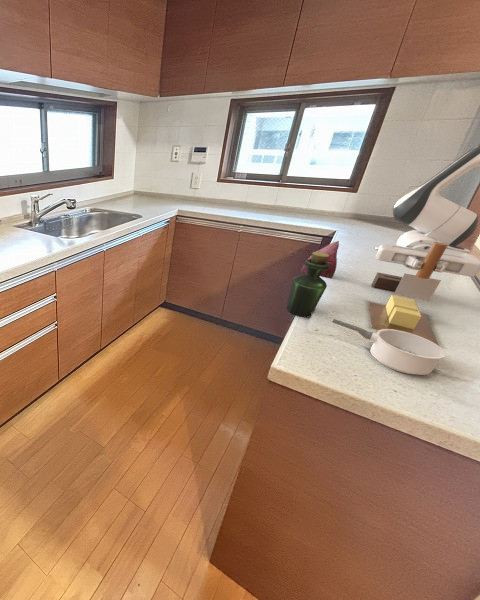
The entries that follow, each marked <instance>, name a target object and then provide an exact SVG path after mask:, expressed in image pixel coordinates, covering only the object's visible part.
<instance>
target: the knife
mask: <svg viewBox="0 0 480 600" xmlns="http://www.w3.org/2000/svg"><path fill="white" fill-rule="evenodd" d="M447 246H448V244H445V243H440V242H434V243H433V245H432V246H431V248H430V250H429V252H428V254H427V256H426V257H425V259H424V261H423V262H424V263H423V265H422V267H421V269H419V270H417V272H416V274H415V275H414V274H409V273H403V275H402V276H401V277H402V279H401V281H400V283H399V285H398V287H397V289H396V291H395V292H393V295H396V296H400V297H405V298H410V299H414V300H415V299H416V300H420V301H425V302H430V301H431V298H432V297H433V296H434V294H435V292H436V290H437V289H438V286H439V285H440V283H441V281H442V280H441V279H437V278H436V279H435V278H432V277H431V276H432V274H433V273H434V272H435V271H434V269H435V267H436V266H437V264H438V262H439V260H440V259H441V257H442V255H443V253H444V252H445V250H446V248H447Z"/></svg>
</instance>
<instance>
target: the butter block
mask: <svg viewBox="0 0 480 600" xmlns="http://www.w3.org/2000/svg"><path fill="white" fill-rule="evenodd" d="M385 306H386V310H387V315H388V317H390V315H391V313H392V311H393V310H394V308H395V307H399V308H403V309H408V310H412V311H416V312H419V307H418V304H417V303H416V301H415V298H410V297H405V296H401V295H396V294H391V295H390V297H389V299H388V301H387V303H386V305H385Z"/></svg>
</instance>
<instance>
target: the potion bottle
mask: <svg viewBox="0 0 480 600" xmlns="http://www.w3.org/2000/svg"><path fill="white" fill-rule="evenodd" d="M311 255H312V259H308V258H307V259H306V260H305V261H304V262H303V265H305V266H307V274H303V273H302V274H299V275H296V276H294V277H293V279H292V282H291V287H290V290H289V295H288V299H287V302H286V303H287V304H286V308H285V309H286V311H287V312H288V313H289V314H291V315H293V316H296V317H299V318H309V317H311V316H312V315H313V313H314V312H315V310H316V308H317V306H318V304H319V302H320V300H321V298H322V296H323V295H324V293H325V292H326V289H327V287H328V285H327V282H326V281H325V280H324V279H323V278H322V277H321V276H320V277H319V275H320V274H321V272H322V271H323V270H327V269H329V264H328V263H327V262H325V261H326V259H327V258H328V256H329V255H328V254H325V253H321V252H316V251H313V252H311Z"/></svg>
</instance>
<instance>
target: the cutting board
mask: <svg viewBox="0 0 480 600" xmlns="http://www.w3.org/2000/svg"><path fill="white" fill-rule="evenodd" d="M368 309H369V316H370V325H371V329H373V330H377V331H379V330H382V329H393V330H399V331H404V332H408V333H411V334H414V335H417V336H420V337H423V338H425V339H427V340H429V341H431V342H433V343H435V344H436V345H438V346H439V347H440V344H439V342H438V340H437V337H436V335H435V333H434V331H433V329H432V326H431V323H430V322H429V318H428V317H427V315H426V314H425V313H420V314H421V318H420V320H419V322H418V323H417V325H416V327H415V328H414V329H410V328H406V327H402V326H398V325H394V324H390V323H389V317H388V315H387V310H386V305H384V304H382V303H381V304H380V303H376V302H372V301H368Z"/></svg>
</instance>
